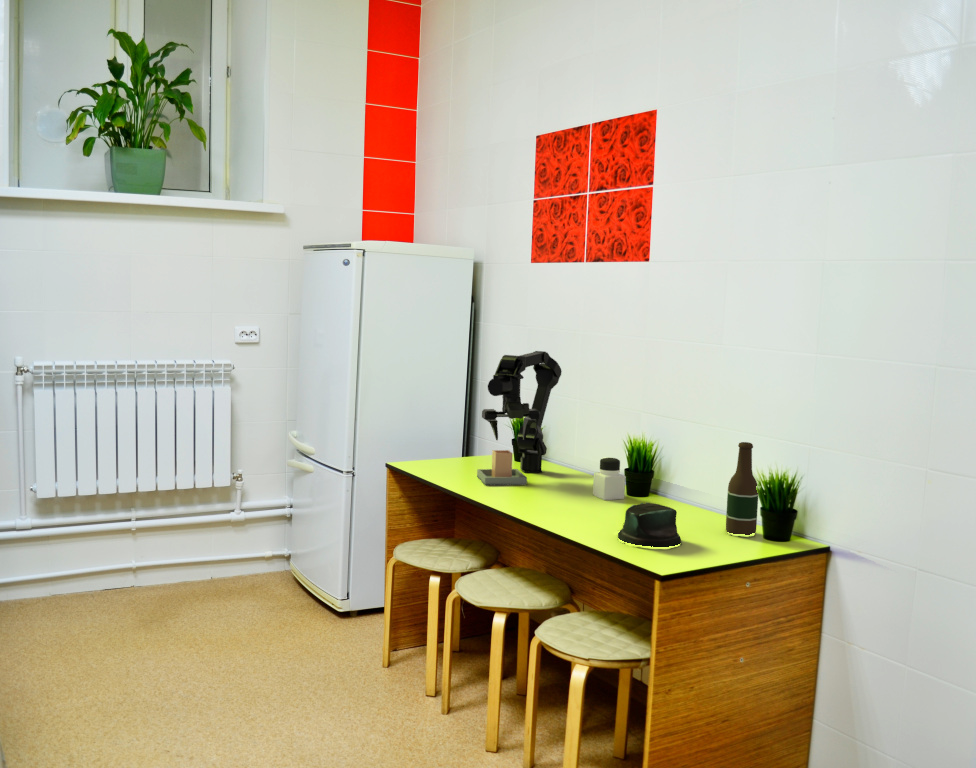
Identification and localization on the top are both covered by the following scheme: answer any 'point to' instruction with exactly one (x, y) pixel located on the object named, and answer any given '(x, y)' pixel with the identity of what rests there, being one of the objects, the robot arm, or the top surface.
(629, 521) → the dark green bucket hat
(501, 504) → the top surface
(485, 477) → the tray
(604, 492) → the medicine bottle
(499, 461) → the terracotta cup
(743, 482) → the beer bottle
